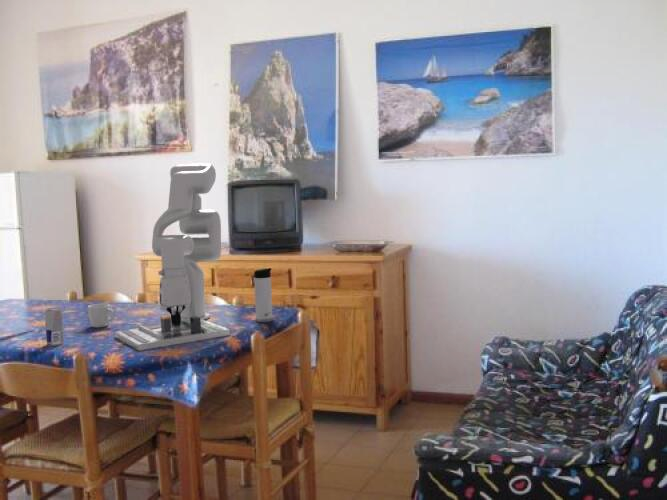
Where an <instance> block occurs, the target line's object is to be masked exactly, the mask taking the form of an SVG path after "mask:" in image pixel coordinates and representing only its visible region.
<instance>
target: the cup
mask: <svg viewBox="0 0 667 500" xmlns="http://www.w3.org/2000/svg"><path fill="white" fill-rule="evenodd" d="M87 312H88V313H87V314H88V318H89V323H90V327H92V328H104V327H108V325H110V322H113V321H114V320H115V318H116V313H115V312H116V311H115V310H114V309H112V308H111V305H110V304H109V303H96V304H89V305H88V306H87ZM110 313H111V317H110Z"/></svg>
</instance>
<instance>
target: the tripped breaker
mask: <svg viewBox="0 0 667 500" xmlns="http://www.w3.org/2000/svg"><path fill="white" fill-rule="evenodd" d="M160 325H161V331H164V332H167V331H171V315H161V316H160Z"/></svg>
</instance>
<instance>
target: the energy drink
mask: <svg viewBox="0 0 667 500" xmlns="http://www.w3.org/2000/svg"><path fill="white" fill-rule="evenodd" d="M44 321H45V323H44V325H45V337H46V345H47V346H48V347H57V346H62V345H63V344H65V339H64V338H65V337H64V325H63V324H64V323H63V311H62V308H61V307H51V308H46V309H44Z"/></svg>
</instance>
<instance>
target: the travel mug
mask: <svg viewBox="0 0 667 500" xmlns="http://www.w3.org/2000/svg"><path fill="white" fill-rule="evenodd" d="M271 271H272V267H269V268H262V269H256V270H254V272H253V276H254V277H253V279H254V280H253V281H254V303H255V304H254V305H255V321H256V323H269V322H272V321H273V300H272V299H273V298H272V297H273V296H272V277H271V276H272V275H271Z"/></svg>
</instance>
